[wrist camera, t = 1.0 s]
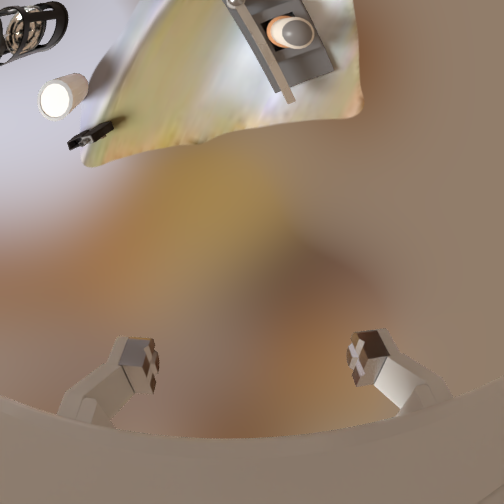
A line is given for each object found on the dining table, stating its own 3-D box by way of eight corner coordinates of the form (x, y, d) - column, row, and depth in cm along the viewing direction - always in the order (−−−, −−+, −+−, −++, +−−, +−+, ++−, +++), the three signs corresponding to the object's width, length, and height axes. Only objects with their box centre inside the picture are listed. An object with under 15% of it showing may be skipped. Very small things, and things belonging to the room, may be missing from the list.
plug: (258, 23, 31) (267, 22, 23) (288, 12, 30) (308, 8, 21) (272, 50, 34) (286, 58, 26) (302, 39, 33) (326, 44, 24)
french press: (65, -11, 21) (-36, -4, 5) (77, 32, 28) (-22, 62, 12) (14, 25, 22) (-83, 61, 6) (26, 65, 29) (-68, 117, 12)
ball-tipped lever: (225, -3, 25) (225, -4, 24) (239, -9, 25) (239, -10, 23) (284, 103, 37) (286, 106, 36) (296, 97, 37) (299, 101, 35)
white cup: (83, 62, 32) (62, 71, 27) (97, 96, 37) (79, 110, 32) (53, 81, 33) (30, 93, 28) (66, 113, 37) (47, 128, 32)
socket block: (220, -4, 28) (218, -7, 25) (283, -28, 25) (289, -33, 22) (274, 91, 40) (278, 98, 37) (332, 69, 37) (341, 74, 34)
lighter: (92, 136, 44) (69, 154, 41) (87, 127, 42) (63, 143, 39) (115, 132, 40) (89, 151, 37) (110, 120, 38) (84, 139, 35)
